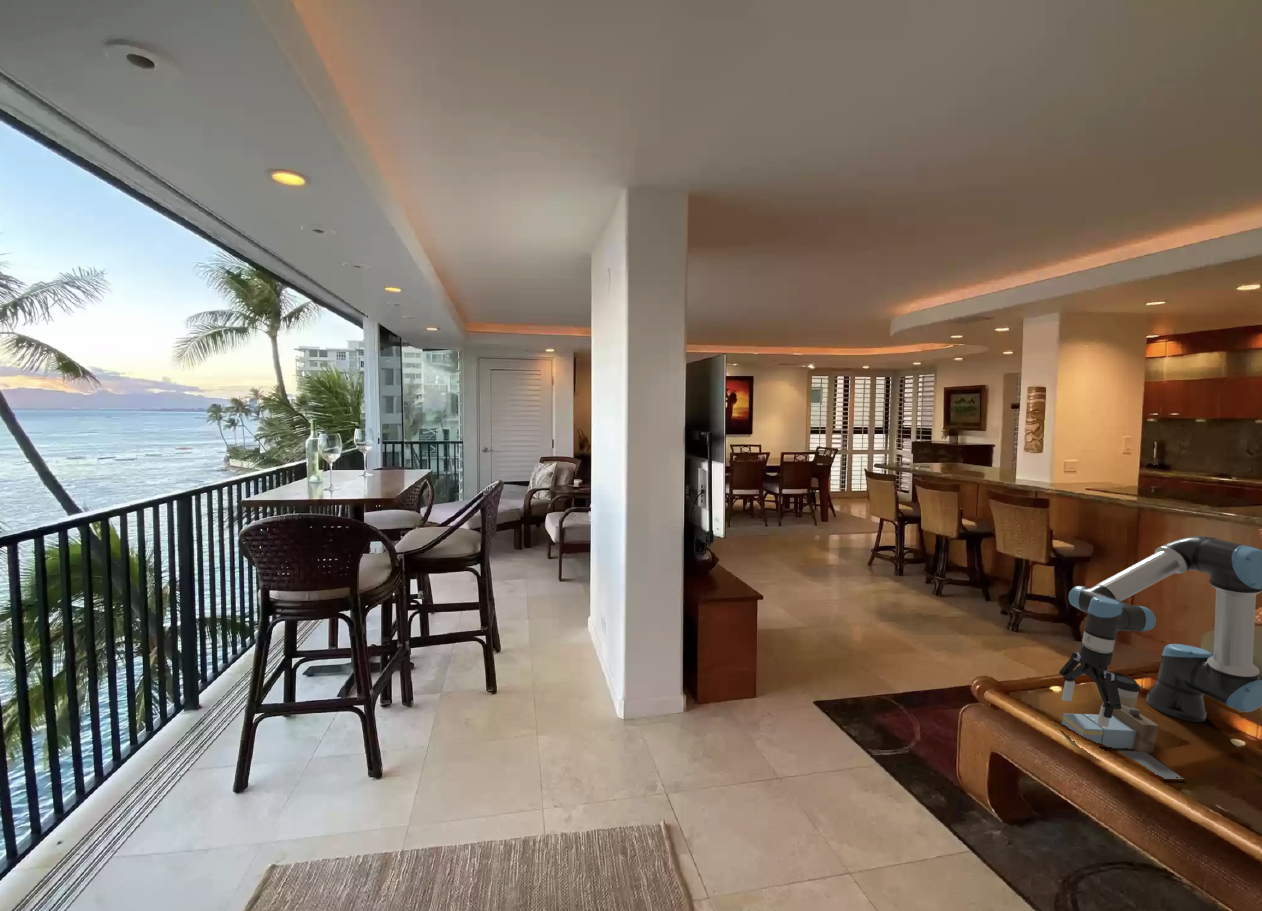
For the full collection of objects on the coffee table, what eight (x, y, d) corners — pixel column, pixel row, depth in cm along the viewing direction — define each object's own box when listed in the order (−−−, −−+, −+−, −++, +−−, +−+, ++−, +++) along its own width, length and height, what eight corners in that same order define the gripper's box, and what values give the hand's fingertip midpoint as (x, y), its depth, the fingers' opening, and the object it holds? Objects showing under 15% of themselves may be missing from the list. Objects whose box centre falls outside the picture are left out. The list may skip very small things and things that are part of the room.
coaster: (1145, 753, 171) (1145, 751, 171) (1184, 781, 160) (1184, 779, 159) (1106, 751, 171) (1107, 749, 171) (1143, 779, 159) (1144, 777, 159)
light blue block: (1078, 731, 181) (1081, 714, 180) (1099, 747, 173) (1103, 729, 172) (1060, 730, 181) (1063, 713, 180) (1080, 747, 173) (1084, 728, 172)
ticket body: (1122, 733, 181) (1125, 715, 181) (1145, 749, 173) (1149, 731, 173) (1079, 731, 181) (1083, 713, 180) (1101, 747, 173) (1104, 729, 172)
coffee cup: (1139, 729, 184) (1148, 686, 182) (1108, 724, 186) (1116, 682, 184) (1121, 714, 193) (1130, 673, 191) (1091, 709, 195) (1099, 668, 193)
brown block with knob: (1120, 730, 183) (1127, 700, 182) (1152, 753, 172) (1159, 720, 171) (1105, 729, 183) (1112, 699, 181) (1137, 752, 172) (1143, 719, 170)
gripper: (1053, 629, 185) (1041, 690, 188) (1121, 667, 160) (1106, 737, 163) (1075, 630, 185) (1063, 691, 188) (1146, 669, 161) (1131, 738, 163)
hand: (1083, 712), depth 176 cm, fingers open, 13 cm apart
